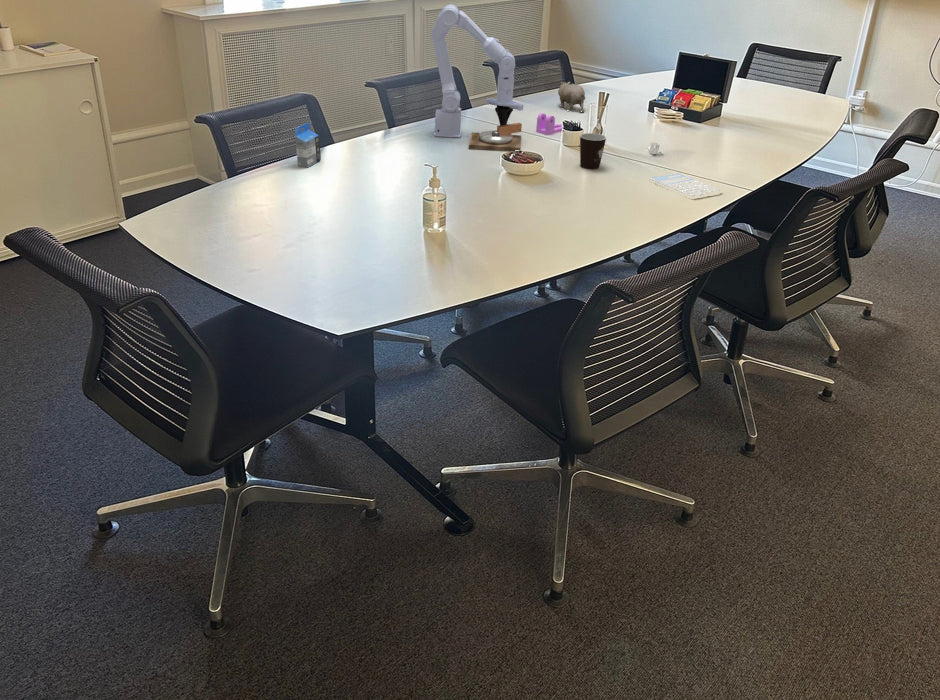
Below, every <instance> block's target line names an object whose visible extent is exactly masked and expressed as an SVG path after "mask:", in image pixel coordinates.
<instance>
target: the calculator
mask: <svg viewBox="0 0 940 700" xmlns="http://www.w3.org/2000/svg"><path fill="white" fill-rule="evenodd" d="M685 178H688V179H690V180H687V179H685ZM683 179H685V180H683ZM650 180H652V181H655V182H657V183H659V184H662V185H664V186H667V187H669V188H672V189H674V190H676V191H679V192H681V193H684V194H687V195H689V196H692V197H695V196H701V195H704V194H709V193H711V192H714V190H715V191H720V190H721V188H717V187H715V186H713V187H711V186H712V185H710V184H708V183H705V182H703V181H700V180H698V179H695V178H692V177H690V176H688V175H685V174H684V173H683V174H682V173H680V172H674V173H668V174H663V175H657V176H652V177H650V178H649V181H650ZM681 180H682V181H681ZM709 188H710V189H713V190H710V189H709ZM708 191H709V192H708Z"/></svg>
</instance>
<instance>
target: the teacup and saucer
mask: <svg viewBox="0 0 940 700" xmlns="http://www.w3.org/2000/svg"><path fill="white" fill-rule="evenodd" d="M659 148H660V143H658V142H650V145H649V146H648V147H647V149H646V150H647V151H649V153H650V155H652V154H656V155H657V154H659V153H658V151H659Z"/></svg>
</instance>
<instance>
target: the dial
mask: <svg viewBox="0 0 940 700" xmlns="http://www.w3.org/2000/svg"><path fill="white" fill-rule="evenodd" d="M522 125H523V124H522V123H521V122H515V123H509V124H508V123H507V125H500V124H499V125H497V126H496V130H485V131H481V132H479V133H480V134H479V140H480V141H482V142H485V143H489V144H507V143H510V142H512V138H513V136H512V135H513V134H515V133H522V129H523V128H522V127H523V126H522Z"/></svg>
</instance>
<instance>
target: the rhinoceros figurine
mask: <svg viewBox="0 0 940 700" xmlns="http://www.w3.org/2000/svg"><path fill="white" fill-rule="evenodd" d="M560 83H561V84H560V85H559V88H558V91H557V94H558V96H559V101H560V105H559V107H558V108H559V109H562V108H563V109H564V108H565V104H568V105H569V106H568V107H567V108H566V109H565V111H566V110H573V108H574V106H575V105H579V106H580V109H579V112H580V113H582V112H583V113H585V110H584V103H585V102H584V101H585V100H586V94H585V90H584V88H583V87H582V86H580V85H578V84H575V83H571V81H567V82H565V81H564V82H562V81H560ZM581 111H582V112H581Z"/></svg>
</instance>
